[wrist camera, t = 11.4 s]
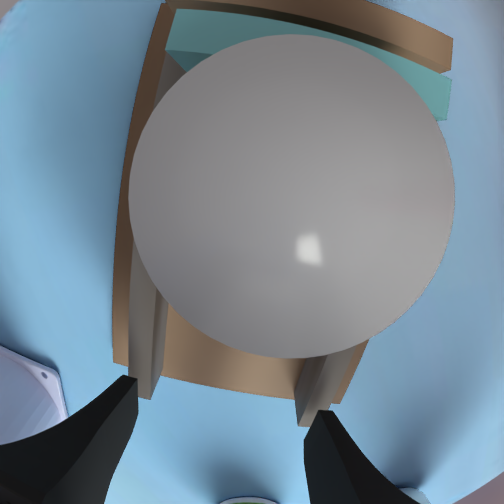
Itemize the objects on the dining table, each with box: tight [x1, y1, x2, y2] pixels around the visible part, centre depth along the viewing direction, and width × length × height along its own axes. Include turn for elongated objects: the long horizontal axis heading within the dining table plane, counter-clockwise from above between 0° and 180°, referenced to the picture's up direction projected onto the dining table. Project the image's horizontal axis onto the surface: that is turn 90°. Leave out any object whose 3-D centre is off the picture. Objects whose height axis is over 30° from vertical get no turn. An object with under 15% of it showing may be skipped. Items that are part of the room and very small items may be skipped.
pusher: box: [165, 9, 452, 121], centre depth 8 cm, size 6×1×6 cm, turn 79°
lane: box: [112, 0, 453, 427], centre depth 11 cm, size 12×17×4 cm
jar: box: [128, 34, 455, 359], centre depth 8 cm, size 5×5×8 cm
